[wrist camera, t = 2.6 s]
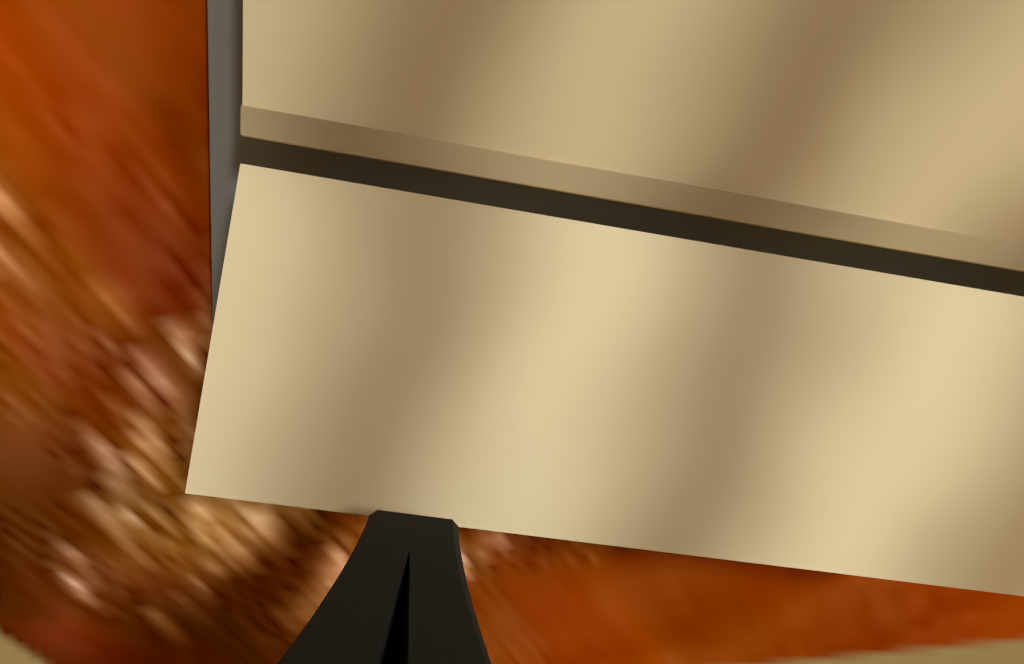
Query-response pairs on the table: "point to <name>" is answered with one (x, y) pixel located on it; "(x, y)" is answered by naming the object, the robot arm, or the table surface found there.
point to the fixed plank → (676, 105)
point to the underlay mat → (512, 189)
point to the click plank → (610, 387)
